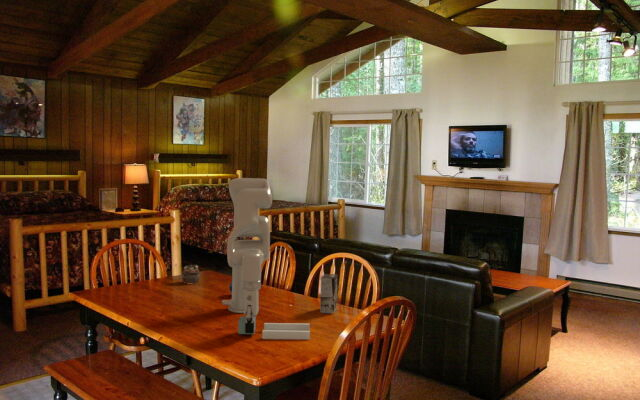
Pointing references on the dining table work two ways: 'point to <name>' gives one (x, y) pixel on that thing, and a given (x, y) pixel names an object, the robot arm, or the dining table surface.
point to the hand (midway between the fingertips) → (250, 329)
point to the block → (242, 325)
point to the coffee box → (328, 293)
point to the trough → (286, 331)
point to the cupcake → (190, 274)
